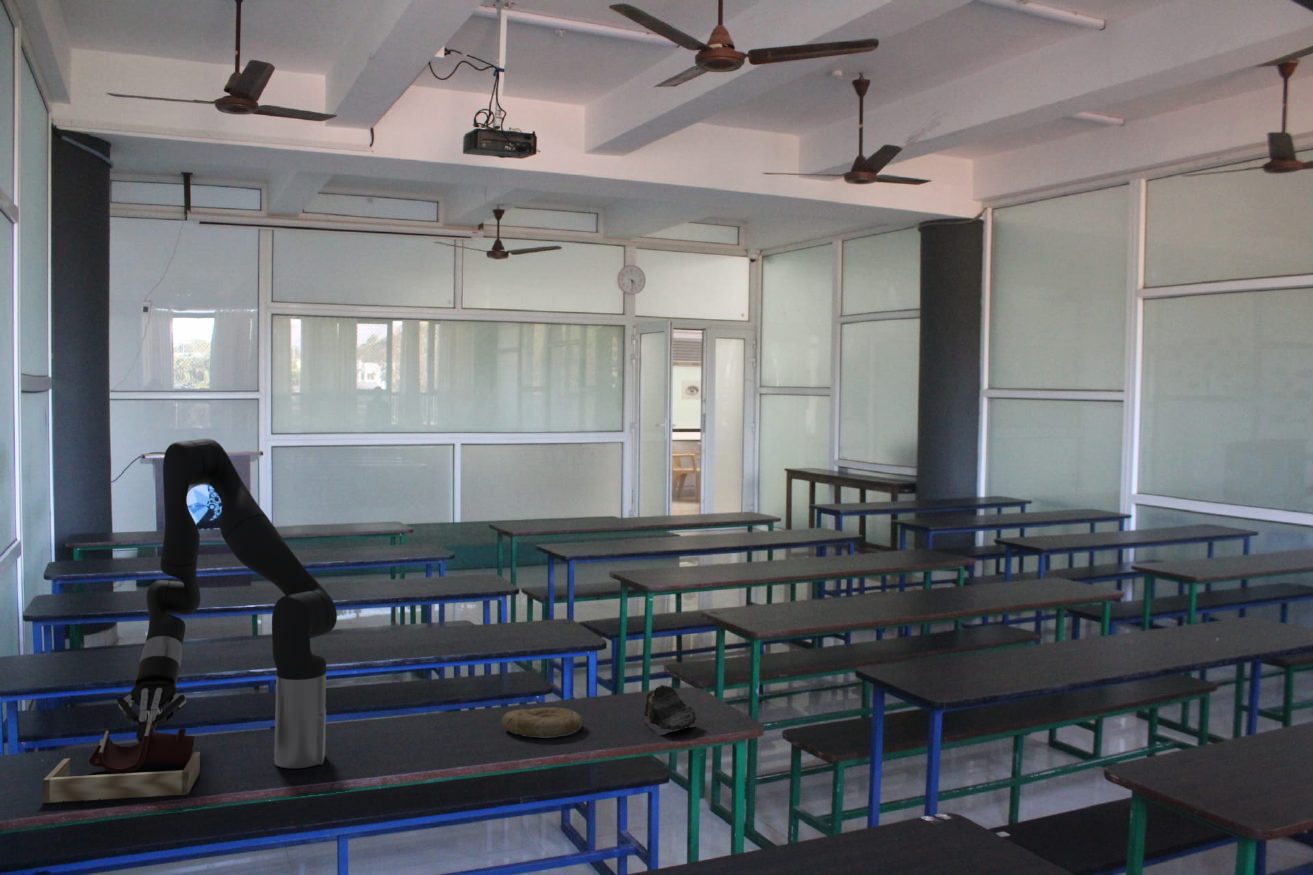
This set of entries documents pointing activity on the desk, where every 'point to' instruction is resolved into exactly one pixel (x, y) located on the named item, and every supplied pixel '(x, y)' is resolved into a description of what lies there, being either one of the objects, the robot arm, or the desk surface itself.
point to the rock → (668, 709)
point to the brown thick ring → (542, 721)
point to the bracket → (143, 751)
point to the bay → (118, 783)
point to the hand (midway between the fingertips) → (143, 742)
